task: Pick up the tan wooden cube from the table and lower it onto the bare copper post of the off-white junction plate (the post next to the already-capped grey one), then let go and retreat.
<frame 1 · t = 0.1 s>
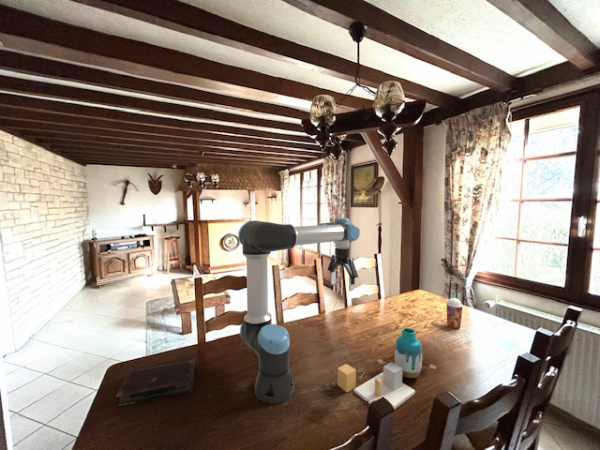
hand: (341, 287, 137), 28 cm above the table, fingers open, 13 cm apart
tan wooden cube: (346, 386, 102), on the table
junction plate: (384, 392, 98), on the table
diary: (160, 385, 103), on the table
smoothie: (453, 327, 152), on the table
vase: (407, 375, 109), on the table
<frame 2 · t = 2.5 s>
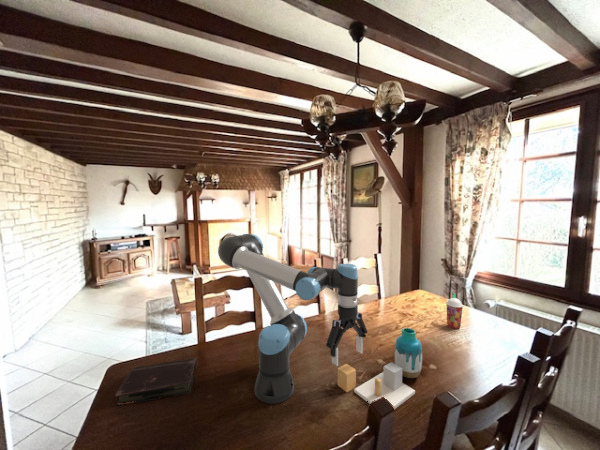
hand: (347, 357, 101), 12 cm above the table, fingers open, 13 cm apart
nothing on the table moved.
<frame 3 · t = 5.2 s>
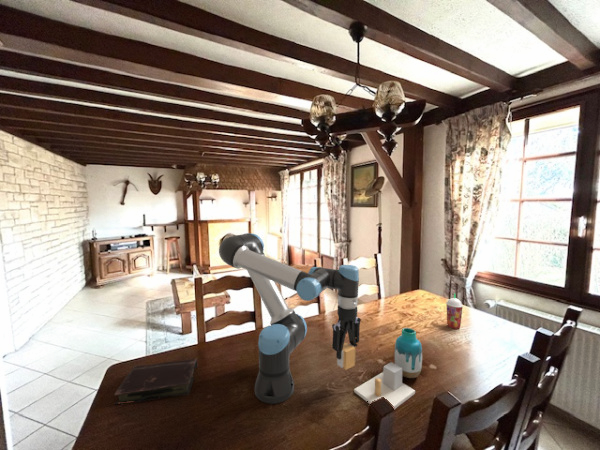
hand: (345, 363, 101), 9 cm above the table, fingers closed on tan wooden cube, 5 cm apart
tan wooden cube: (345, 364, 101), point 9 cm above the table, touching gripper
everything else where it was.
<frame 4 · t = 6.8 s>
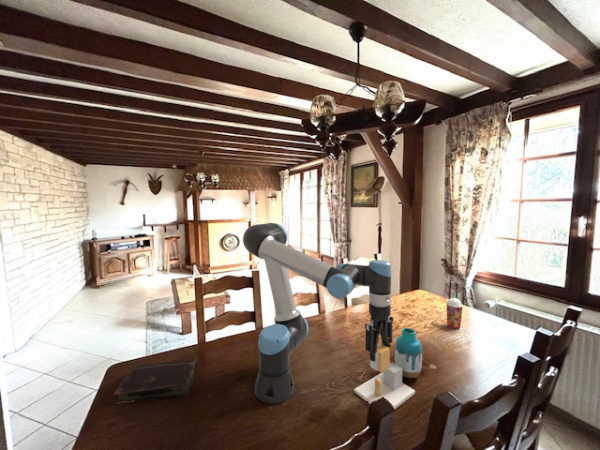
hand: (379, 365, 95), 12 cm above the table, fingers closed on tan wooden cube, 5 cm apart
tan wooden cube: (379, 366, 95), point 12 cm above the table, touching gripper
everything else where it was.
when the fingers open (2 cm above the table, at t = 8.5 s): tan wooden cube stays where it is, resting on junction plate.
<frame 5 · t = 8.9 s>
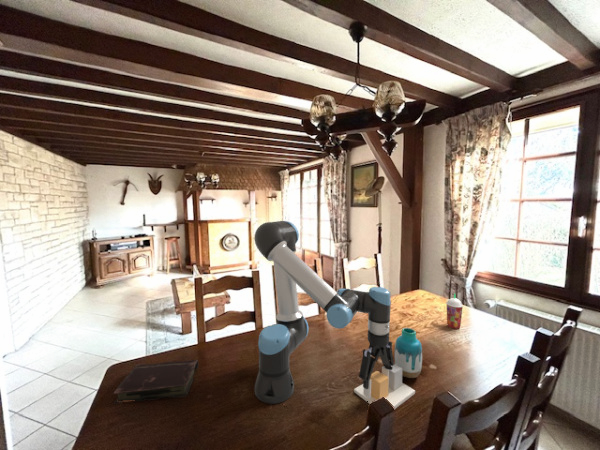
hand: (376, 390, 95), 3 cm above the table, fingers open, 10 cm apart
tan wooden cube: (378, 394, 95), point 1 cm above the table, touching junction plate
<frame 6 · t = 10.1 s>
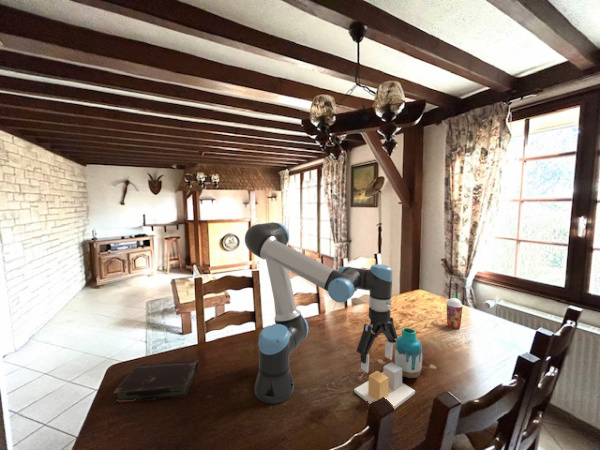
hand: (377, 364, 95), 13 cm above the table, fingers open, 13 cm apart
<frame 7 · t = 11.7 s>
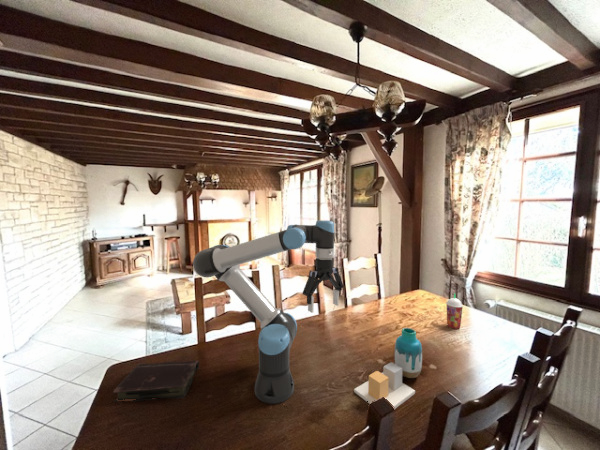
hand: (323, 308, 108), 28 cm above the table, fingers open, 13 cm apart
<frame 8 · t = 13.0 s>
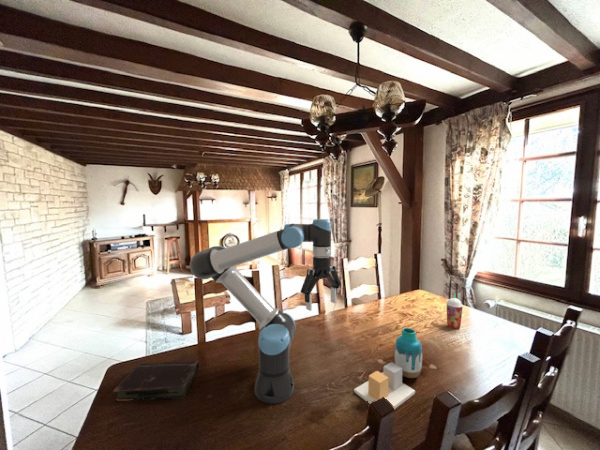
hand: (321, 305, 109), 29 cm above the table, fingers open, 13 cm apart
at the end: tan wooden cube 0.2 cm from the target spot on the junction plate, point 1.2 cm above the junction plate's base; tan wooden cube tilted 0°; the gripper is holding nothing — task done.
